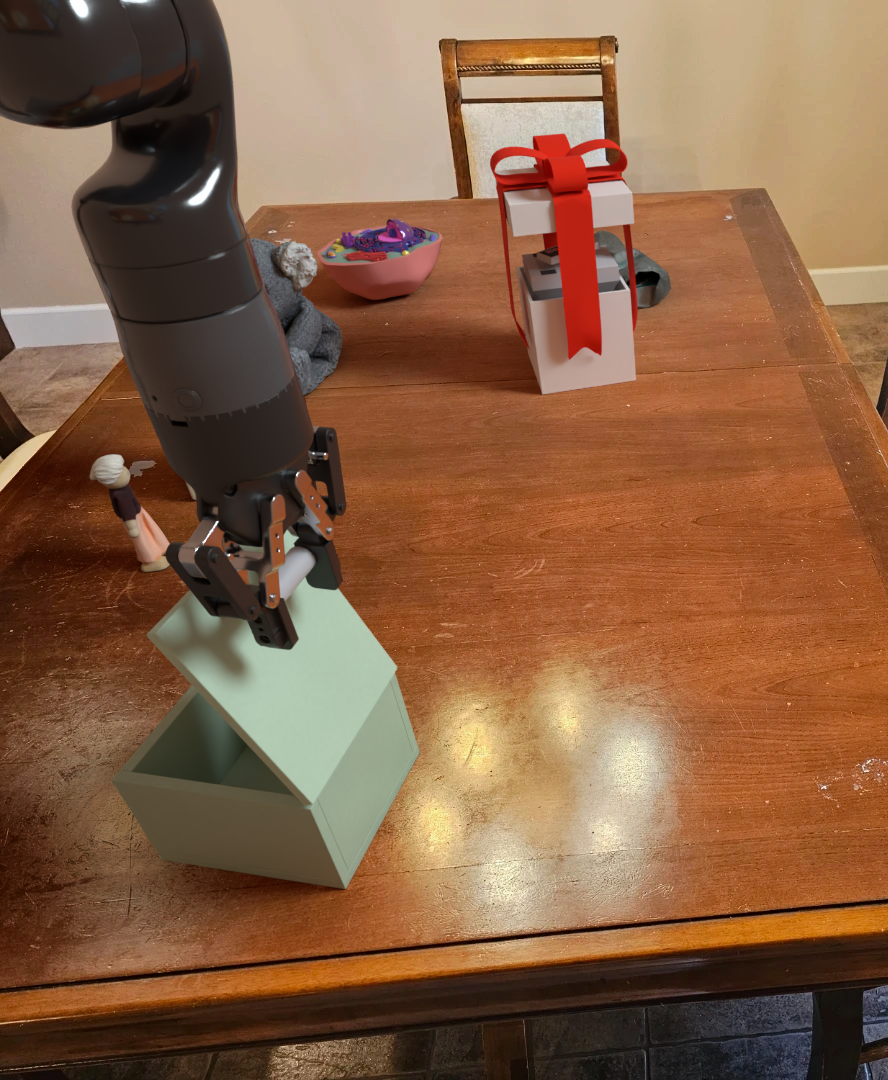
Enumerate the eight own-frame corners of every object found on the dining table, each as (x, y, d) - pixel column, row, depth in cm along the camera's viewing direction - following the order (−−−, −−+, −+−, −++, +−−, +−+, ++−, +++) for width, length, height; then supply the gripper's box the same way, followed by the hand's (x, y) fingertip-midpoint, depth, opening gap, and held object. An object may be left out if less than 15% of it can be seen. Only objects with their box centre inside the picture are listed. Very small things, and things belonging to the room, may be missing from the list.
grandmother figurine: (186, 565, 97) (139, 463, 89) (147, 582, 95) (96, 479, 87) (159, 534, 101) (112, 434, 94) (121, 550, 99) (70, 449, 91)
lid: (144, 635, 53) (208, 621, 51) (267, 507, 63) (324, 493, 61) (303, 806, 61) (363, 799, 59) (390, 669, 71) (443, 659, 70)
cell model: (311, 293, 154) (292, 225, 148) (420, 263, 165) (407, 199, 158) (356, 324, 144) (337, 253, 138) (469, 290, 155) (457, 223, 148)
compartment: (161, 860, 69) (110, 780, 63) (257, 729, 79) (220, 650, 73) (345, 889, 67) (310, 809, 61) (420, 752, 77) (395, 672, 71)
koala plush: (195, 390, 128) (140, 251, 116) (277, 336, 141) (236, 206, 129) (303, 406, 124) (258, 264, 112) (377, 349, 138) (344, 217, 126)
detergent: (682, 305, 149) (636, 250, 168) (677, 263, 145) (631, 211, 163) (604, 324, 146) (566, 266, 164) (597, 282, 142) (559, 227, 160)
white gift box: (625, 334, 141) (610, 124, 123) (653, 384, 128) (640, 158, 110) (513, 350, 137) (480, 135, 119) (530, 403, 124) (496, 172, 106)
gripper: (231, 315, 55) (308, 541, 65) (56, 439, 44) (182, 688, 54) (349, 324, 54) (407, 552, 64) (200, 454, 43) (300, 704, 53)
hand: (304, 613), depth 59 cm, fingers closed on lid, 5 cm apart
